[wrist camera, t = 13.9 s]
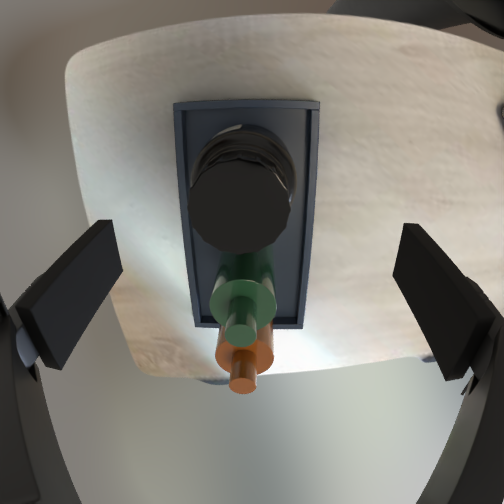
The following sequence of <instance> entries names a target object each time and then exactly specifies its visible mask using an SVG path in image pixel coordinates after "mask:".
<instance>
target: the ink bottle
mask: <svg viewBox="0 0 504 504" xmlns="http://www.w3.org/2000/svg"><path fill="white" fill-rule="evenodd" d="M296 191H297V172H296V168H295V164H294V162H293V159H292V157H291V155H290V153H289V151H288V149H287V147H286V145H285V144H284V142H283V141H282V140H281V139H280V138H279V137H278V136H277V135H276V134H274V133H273V132H271V131H270V130H268V129H265V128H263V127H260V126H256V125H249V124H241V125H235V126H232V127H229V128H226V129H224V130H223V131H221V132H219V133H218V134H216V135H215V136H214V137H213V138H212V139H211V140H210V141H209V142H208V143H207V144H206V145H205V146H204V148H203V149H202V150H201V151H200V153H199V154H198V156H197V158H196V160H195V162H194V165H193V168H192V172H191V188H190V190H189V193H190V194H189V200H188V205H187V210H188V212H189V216H190V219H191V222H192V227H193V228H194V229H195V230H196V231H197V233H198V234H199V235H200V236H201V238H202V240H203V241H204V242H206V243H208V244H210V245H212V246H213V247H215V248H217V249H218V250H219V251H222V252H229V253H235V254H237V255H241V254H245V253H251V252H259V251H260V250H261V249H263V248H265V247H267V246H268V245H270V244H273V243H274V242H275V241H276V239H277V238H278V237H279V236H280V234H281V233H282V232H283V230H285V229H286V227H287V221H288V218H289V214H290V212H291V205H292V203H293V201H294V198H295V195H296Z"/></svg>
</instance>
